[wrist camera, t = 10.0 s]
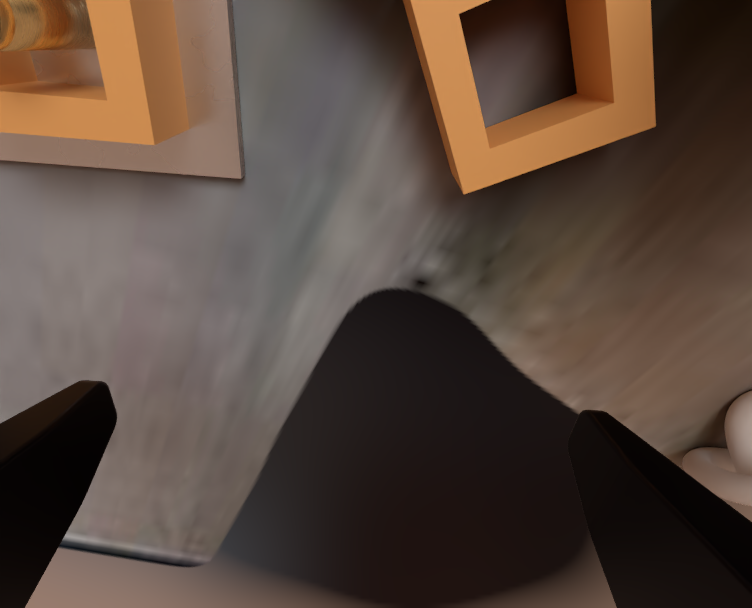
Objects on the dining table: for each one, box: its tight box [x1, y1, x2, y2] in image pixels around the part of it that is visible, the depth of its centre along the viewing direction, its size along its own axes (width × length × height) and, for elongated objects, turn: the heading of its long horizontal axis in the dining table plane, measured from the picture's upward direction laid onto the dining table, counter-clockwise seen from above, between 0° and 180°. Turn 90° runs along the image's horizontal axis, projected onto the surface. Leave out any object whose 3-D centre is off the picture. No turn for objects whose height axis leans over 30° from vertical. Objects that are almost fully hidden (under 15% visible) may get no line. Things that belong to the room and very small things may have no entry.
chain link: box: [403, 0, 656, 194], centre depth 14 cm, size 6×6×3 cm
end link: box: [0, 0, 189, 145], centre depth 13 cm, size 6×6×3 cm
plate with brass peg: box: [0, 0, 245, 179], centre depth 13 cm, size 10×10×6 cm
